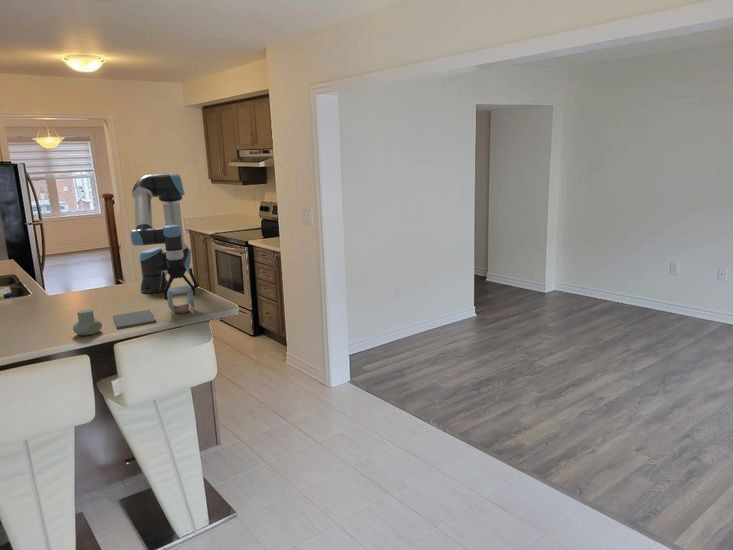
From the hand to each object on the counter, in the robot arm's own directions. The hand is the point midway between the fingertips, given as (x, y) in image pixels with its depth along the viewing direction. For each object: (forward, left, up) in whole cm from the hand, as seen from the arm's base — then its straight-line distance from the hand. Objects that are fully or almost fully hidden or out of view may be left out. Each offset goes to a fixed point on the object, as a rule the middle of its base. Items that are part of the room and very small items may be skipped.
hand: (180, 304), depth 248 cm
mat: (0, -21, -4) cm, 21 cm away
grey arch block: (0, 0, -1) cm, 1 cm away
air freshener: (+9, -40, -4) cm, 41 cm away
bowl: (0, 0, -4) cm, 4 cm away
